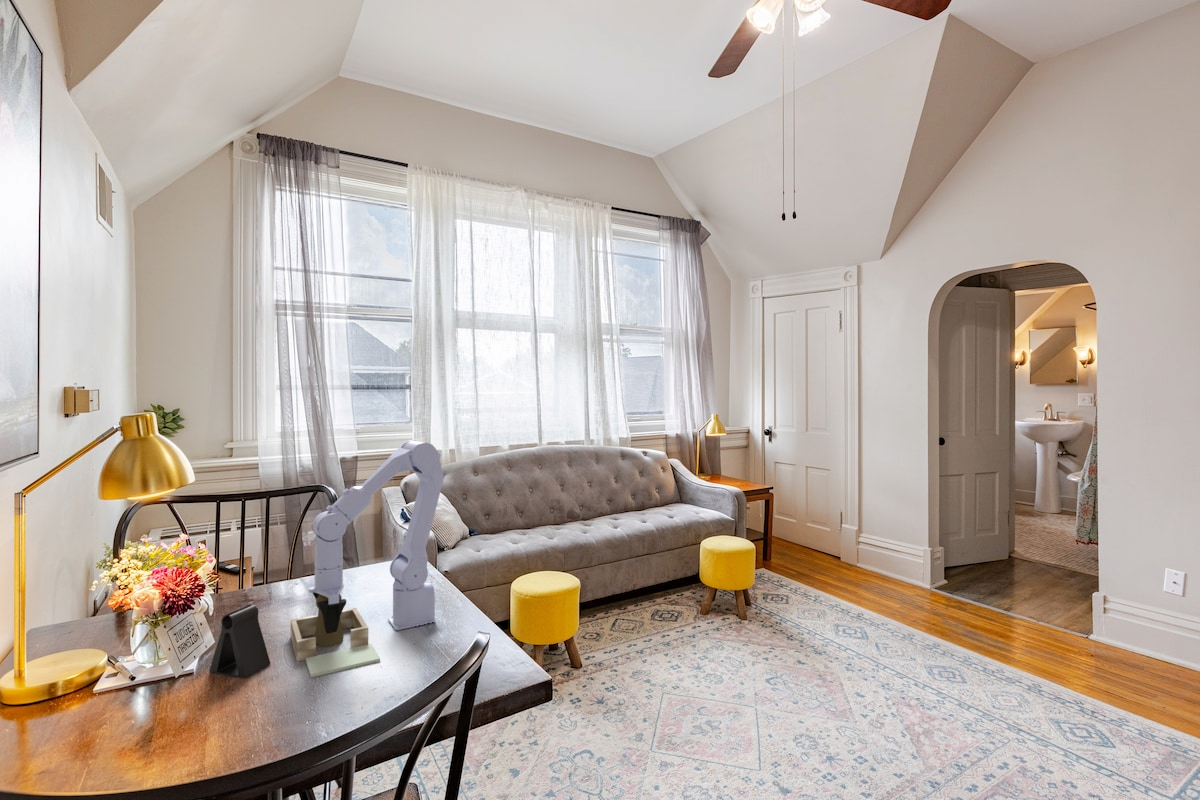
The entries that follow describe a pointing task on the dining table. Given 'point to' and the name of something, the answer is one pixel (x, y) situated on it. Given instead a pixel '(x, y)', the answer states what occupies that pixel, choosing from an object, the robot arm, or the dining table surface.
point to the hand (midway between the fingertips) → (328, 626)
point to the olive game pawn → (320, 634)
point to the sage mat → (341, 660)
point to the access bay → (308, 627)
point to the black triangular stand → (240, 645)
